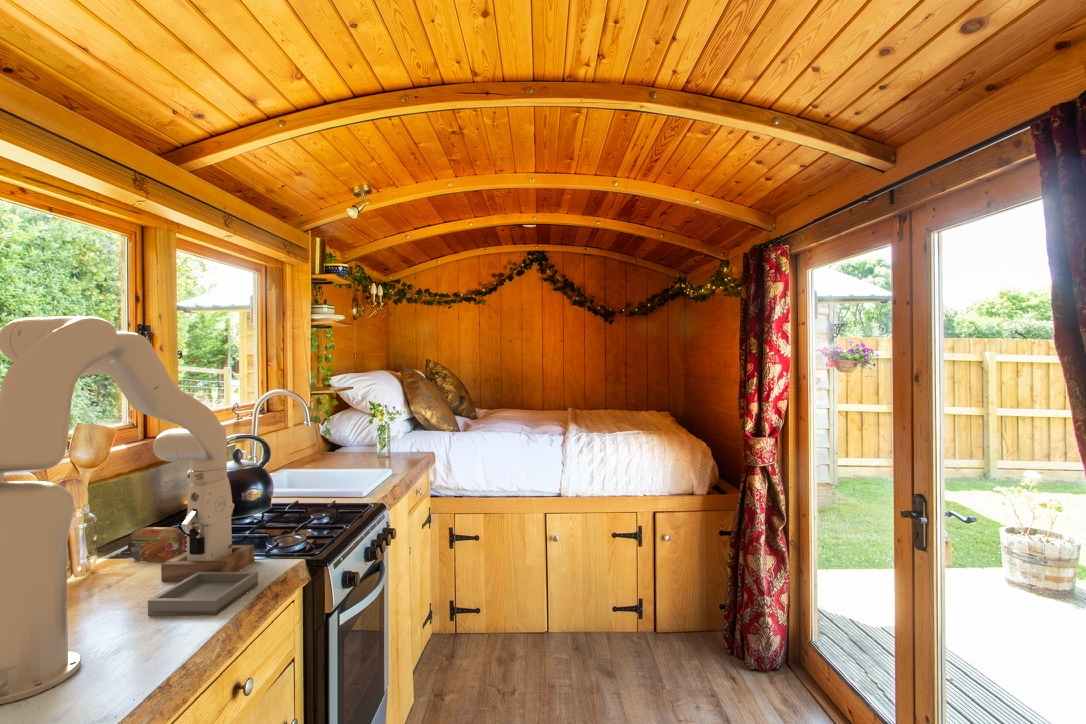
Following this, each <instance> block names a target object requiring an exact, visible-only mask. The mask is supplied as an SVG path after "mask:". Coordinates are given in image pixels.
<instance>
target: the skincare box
mask: <svg viewBox="0 0 1086 724" xmlns="http://www.w3.org/2000/svg"><path fill="white" fill-rule="evenodd" d="M187 517H188V516H187V514H186V516H185V518H187ZM194 524H200V522H199V519H198V516H197V518H196V519H195V520H194ZM195 530H196V531H197V532H198V530H199V527H195ZM202 537H204V554H202V555H191V554H190V546H189V538H187V537H186V552H187V561H220V560H221V559H223V558H225V557H227V556H228V555H230V554H232V545H233V542H232V541H233V538H232V516H229V517H227V518H225V519H223V520H221V521H219V522H217V523H215V524H212V525H210V526H204V532H203V534H202Z"/></svg>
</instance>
